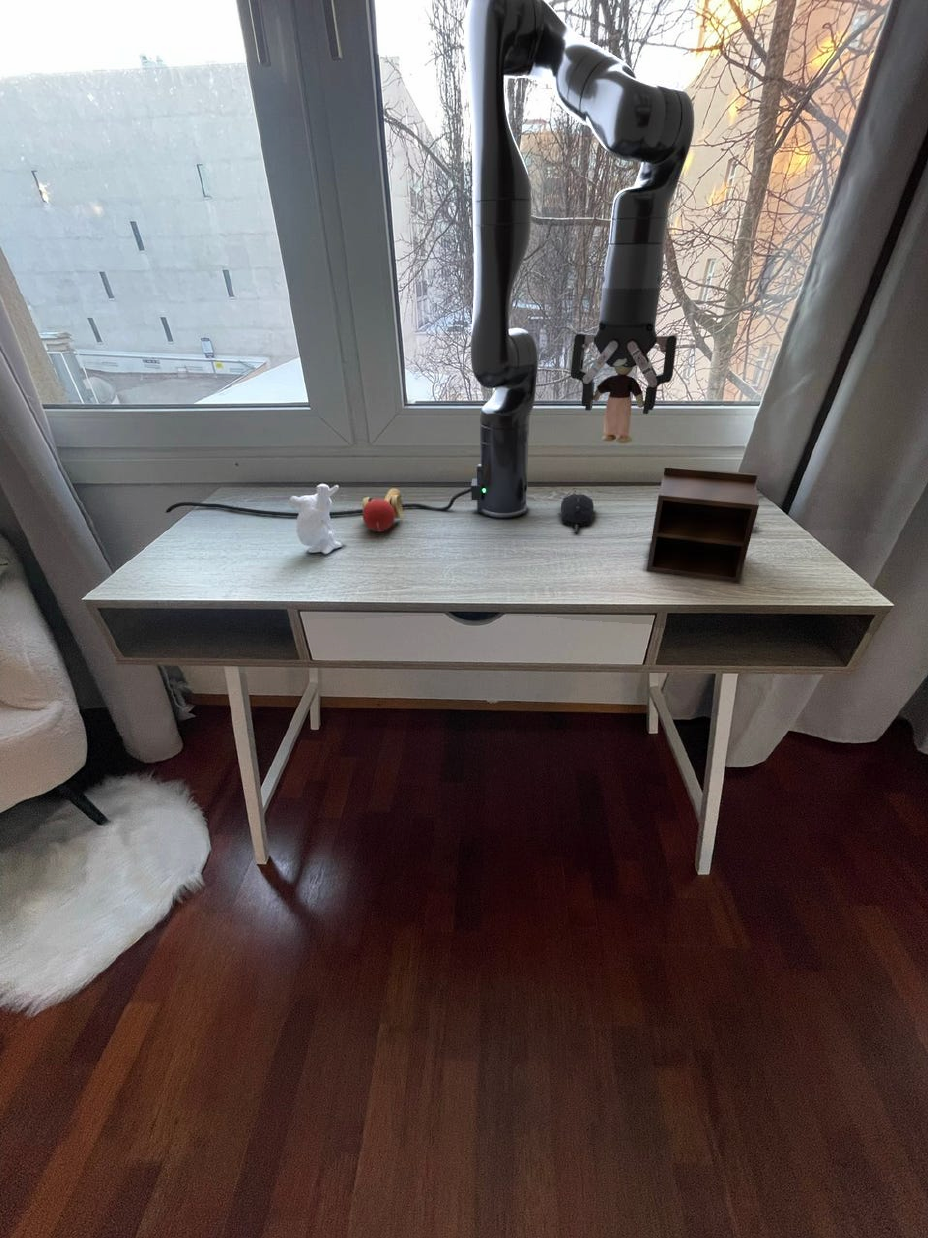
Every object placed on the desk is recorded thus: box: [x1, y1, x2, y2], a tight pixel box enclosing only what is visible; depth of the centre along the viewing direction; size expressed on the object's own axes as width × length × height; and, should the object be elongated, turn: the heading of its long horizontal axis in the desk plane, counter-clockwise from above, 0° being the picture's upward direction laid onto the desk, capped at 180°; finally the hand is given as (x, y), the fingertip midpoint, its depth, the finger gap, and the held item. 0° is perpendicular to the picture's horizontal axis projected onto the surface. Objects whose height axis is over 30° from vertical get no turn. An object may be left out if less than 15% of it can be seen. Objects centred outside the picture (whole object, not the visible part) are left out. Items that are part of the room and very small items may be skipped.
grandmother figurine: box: [593, 358, 645, 444], centre depth 86 cm, size 8×4×13 cm, turn 70°
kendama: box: [362, 487, 404, 533], centre depth 116 cm, size 8×6×18 cm
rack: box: [646, 465, 760, 584], centre depth 95 cm, size 14×11×14 cm
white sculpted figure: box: [289, 483, 343, 555], centre depth 102 cm, size 8×7×12 cm
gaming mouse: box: [560, 493, 594, 534], centre depth 114 cm, size 6×15×4 cm, turn 170°
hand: (616, 411), depth 87 cm, fingers closed on grandmother figurine, 8 cm apart
